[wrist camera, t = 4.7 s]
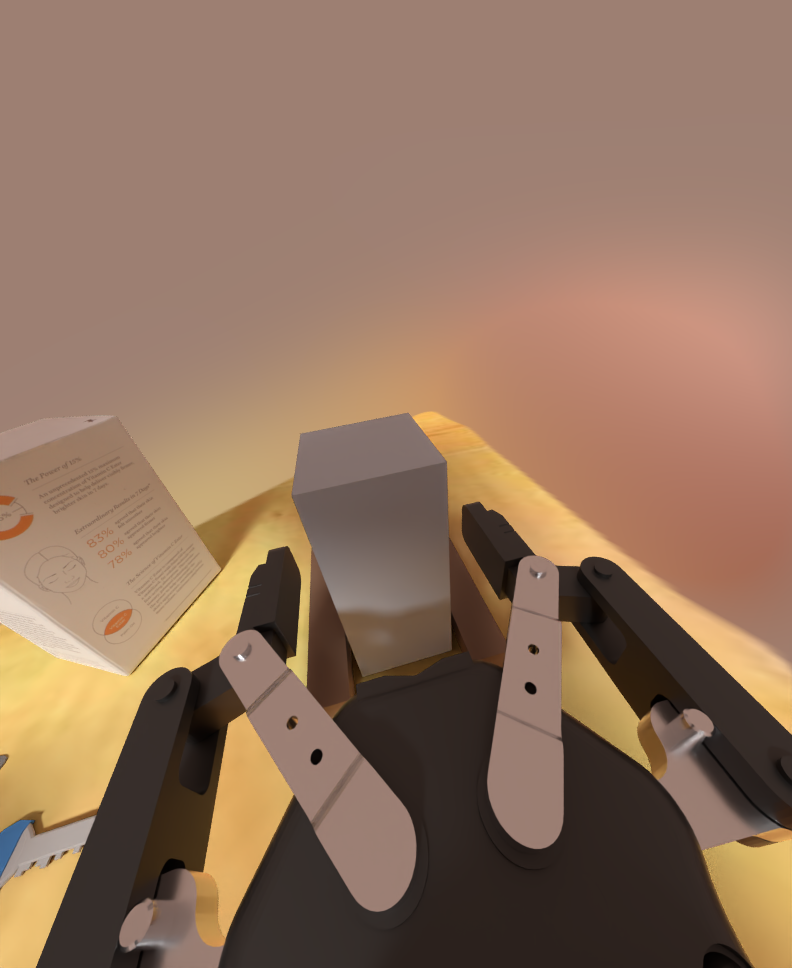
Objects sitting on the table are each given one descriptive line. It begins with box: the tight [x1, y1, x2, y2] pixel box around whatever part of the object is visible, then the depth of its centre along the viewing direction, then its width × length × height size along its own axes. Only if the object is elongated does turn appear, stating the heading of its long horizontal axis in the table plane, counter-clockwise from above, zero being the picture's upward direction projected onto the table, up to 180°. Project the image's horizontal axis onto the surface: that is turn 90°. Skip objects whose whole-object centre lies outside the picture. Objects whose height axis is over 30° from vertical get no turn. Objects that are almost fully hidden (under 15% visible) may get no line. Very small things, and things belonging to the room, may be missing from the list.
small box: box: [0, 416, 221, 676], centre depth 17 cm, size 8×6×13 cm
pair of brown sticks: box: [307, 538, 506, 719], centre depth 20 cm, size 10×14×2 cm
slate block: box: [292, 413, 452, 677], centre depth 15 cm, size 5×5×12 cm
